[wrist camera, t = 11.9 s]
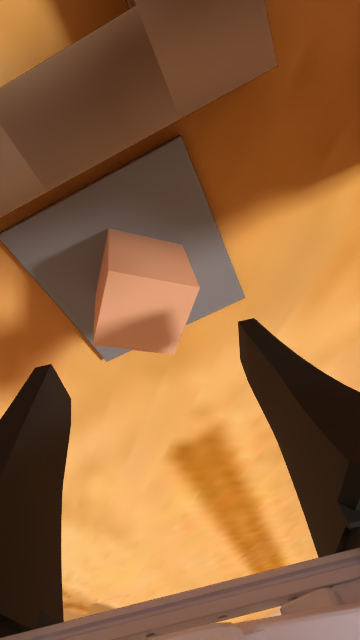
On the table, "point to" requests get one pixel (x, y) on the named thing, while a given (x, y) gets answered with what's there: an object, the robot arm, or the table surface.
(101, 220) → the mat
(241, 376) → the table surface
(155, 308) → the block
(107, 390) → the table surface
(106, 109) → the puzzle board
